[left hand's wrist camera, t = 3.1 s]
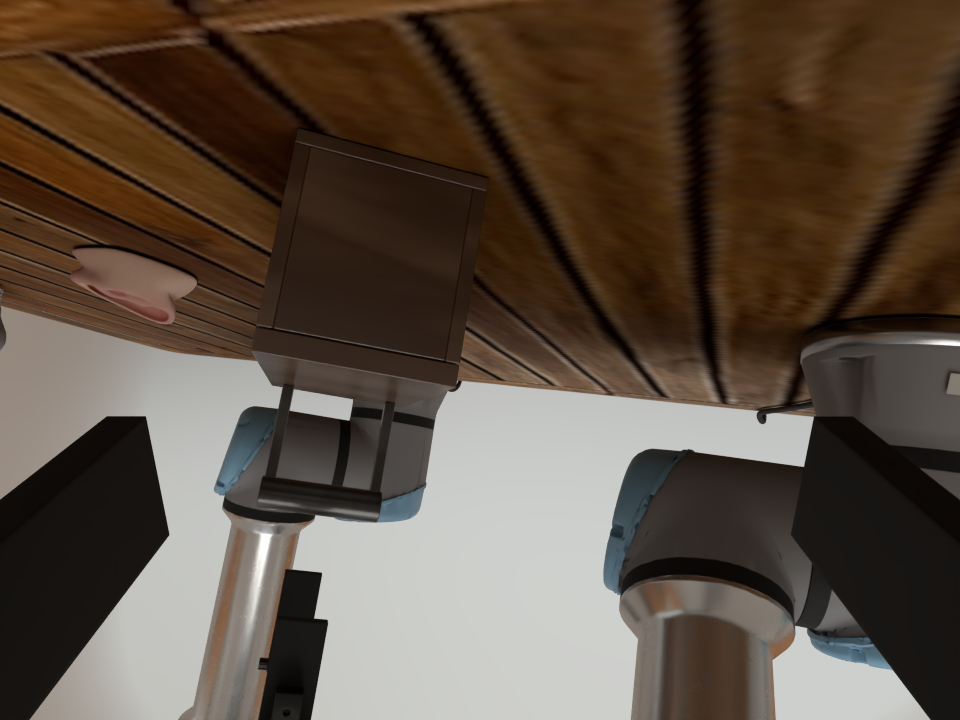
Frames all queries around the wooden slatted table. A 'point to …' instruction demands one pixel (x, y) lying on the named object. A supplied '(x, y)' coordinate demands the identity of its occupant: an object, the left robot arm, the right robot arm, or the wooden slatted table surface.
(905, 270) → the wooden slatted table surface
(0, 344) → the light bulb
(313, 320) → the chest
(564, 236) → the wooden slatted table surface
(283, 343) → the lid
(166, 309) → the anatomical model
